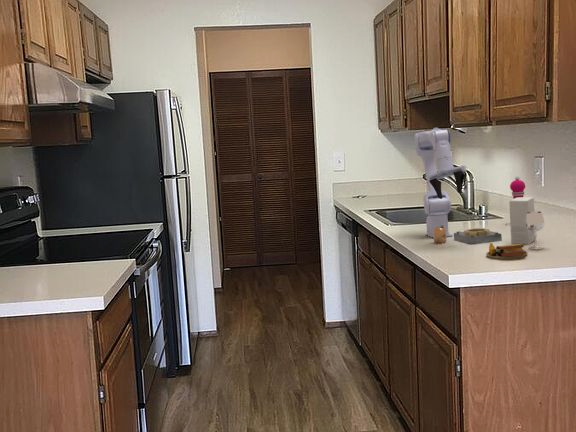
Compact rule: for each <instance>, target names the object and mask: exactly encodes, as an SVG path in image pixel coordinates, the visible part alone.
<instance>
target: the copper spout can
mask: <svg viewBox="0 0 576 432" xmlns="http://www.w3.org/2000/svg"><path fill="white" fill-rule="evenodd" d="M433 230H434V238H433V240H434V241H433V242H434V243H433V244H435V243H436V244H437V245H441V244H442V243H443V244H446V243H447V237H446V230H445V227H443V225H441V227H437V228H433ZM436 244H435V245H436Z"/></svg>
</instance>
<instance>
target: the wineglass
mask: <svg viewBox="0 0 576 432" xmlns="http://www.w3.org/2000/svg"><path fill="white" fill-rule="evenodd" d="M525 224H526V227H527V229H529V230H531V231H534V237H535V241H534V245H533V246H529V247H528V249H529V250H541V249H544V247H543V246H540V245H538V244H537V237H538V233H537V232H538V231H541V230H543V228H544V227H545V218H544V214H543V212H542V211H535V210H534V212H527V214H526V219H525Z"/></svg>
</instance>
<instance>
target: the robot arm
mask: <svg viewBox="0 0 576 432" xmlns="http://www.w3.org/2000/svg"><path fill="white" fill-rule="evenodd" d="M450 131H451V130H450V129H448V128H447V129H441V128H439V127H433V129H432V130H427V131H420V132H416V133H415V134H414V147H415V151H416V154H417V156H418V157H421V159H422V162H423V167H424V173H425V177H426V183H427V187H428V188H427V189H428V192H426V193H425V194H424V196H423V209H424V212H425V214H426V215H428V216H427V217H426V220H425V221H426V222H425V223H426V233H425V234H424V235H425V236H426V235H428V236H427V237H429V236H430V237H429V238H432V237H433V239H434V230H433V228H437V227H441V225H443V227H445V230H446V238H447V237H454V234H452V233H449V222H448V215H449V213H450V212H451V210H452V202H451V198H450V196H449V194H448V192H446V191H445V190H444V189H442V181H441V179H445V178H448V177H452V176H453V177H454V179H455V183H456V184H455V185H456V190H457V191H456V192H457V193H458V194H463V185H464V181H465V179H466V174H465V173H467V172H468V171H467V166H465V165H460V166H456V167H454V162H453V155H452V149H451V142H452V141H451V140H452V139H451V132H450Z"/></svg>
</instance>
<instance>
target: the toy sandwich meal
mask: <svg viewBox="0 0 576 432" xmlns="http://www.w3.org/2000/svg"><path fill="white" fill-rule="evenodd" d="M524 247H525V244H506V245H505V244H504V245H497V246H494V244H493V242H489V246H488V251H487V252H486V253H485V255H486V256H487V257H488V258H489V259H494V260H515V259H521V258H525V257H526V256H527V255H528V251H527V250H524V249H523V248H524Z"/></svg>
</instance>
